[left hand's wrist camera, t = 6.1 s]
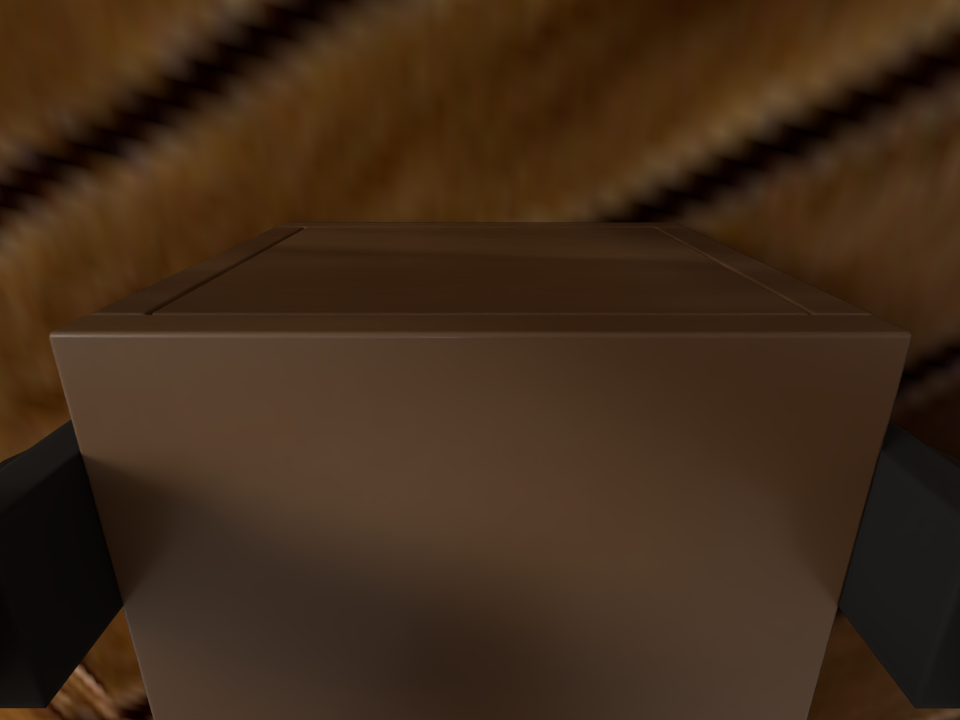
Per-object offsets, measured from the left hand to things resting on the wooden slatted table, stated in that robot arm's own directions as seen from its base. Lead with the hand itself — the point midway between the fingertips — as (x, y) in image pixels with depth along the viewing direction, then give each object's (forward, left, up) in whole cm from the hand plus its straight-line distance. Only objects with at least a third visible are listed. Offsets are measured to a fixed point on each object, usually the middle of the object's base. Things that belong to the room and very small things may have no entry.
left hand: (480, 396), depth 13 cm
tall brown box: (+3, +5, -5) cm, 8 cm away
